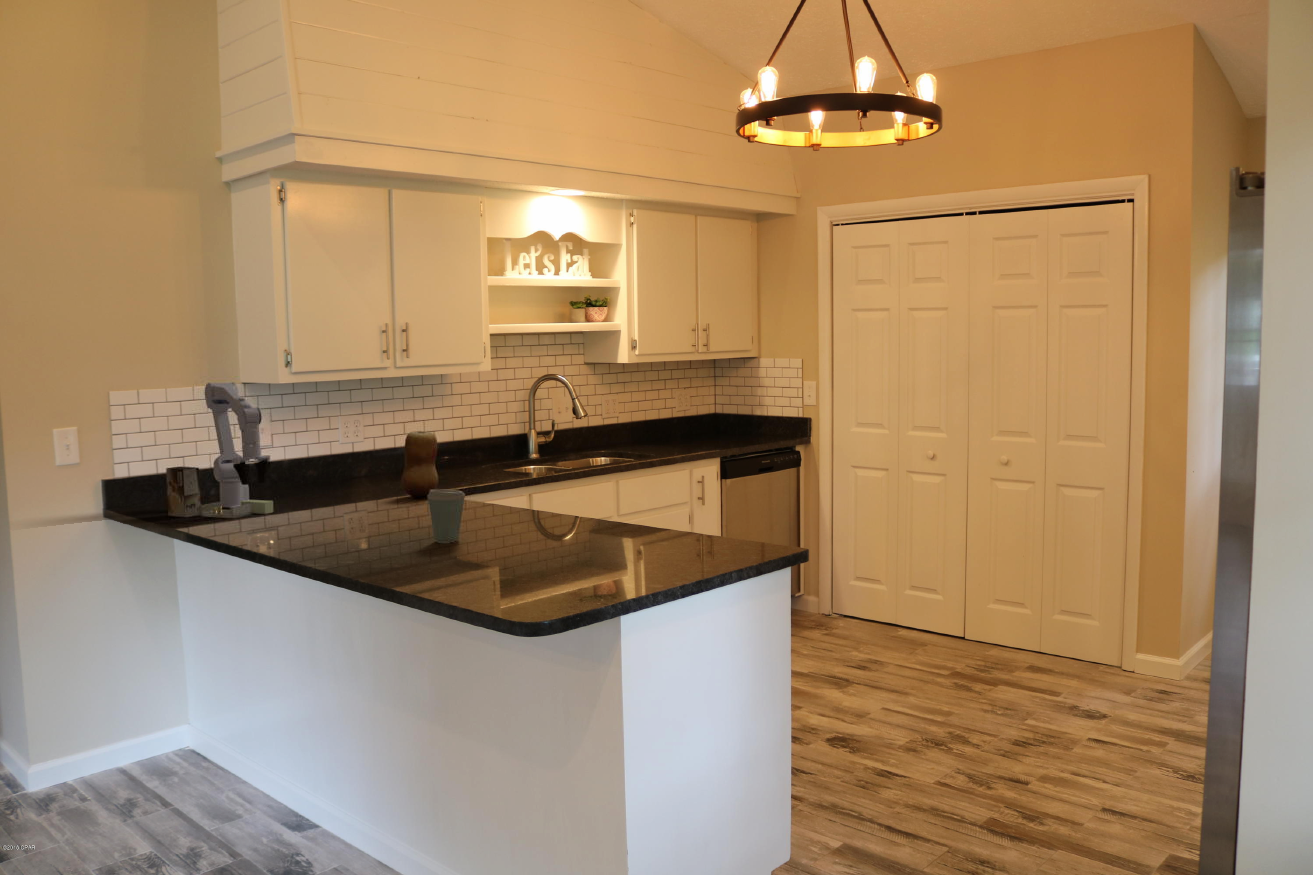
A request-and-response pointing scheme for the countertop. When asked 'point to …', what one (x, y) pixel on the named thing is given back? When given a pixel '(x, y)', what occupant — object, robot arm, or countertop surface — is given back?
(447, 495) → the disposable coffee cup
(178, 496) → the coffee box
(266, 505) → the board
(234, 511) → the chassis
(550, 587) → the countertop surface
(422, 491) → the butternut squash
